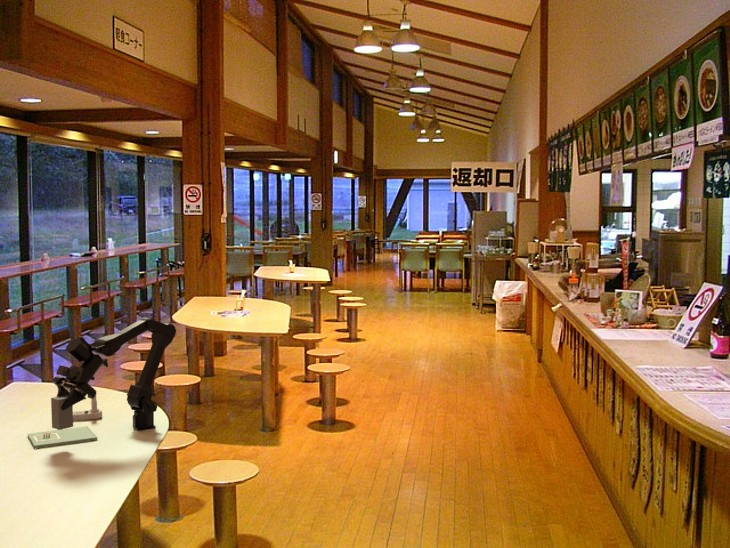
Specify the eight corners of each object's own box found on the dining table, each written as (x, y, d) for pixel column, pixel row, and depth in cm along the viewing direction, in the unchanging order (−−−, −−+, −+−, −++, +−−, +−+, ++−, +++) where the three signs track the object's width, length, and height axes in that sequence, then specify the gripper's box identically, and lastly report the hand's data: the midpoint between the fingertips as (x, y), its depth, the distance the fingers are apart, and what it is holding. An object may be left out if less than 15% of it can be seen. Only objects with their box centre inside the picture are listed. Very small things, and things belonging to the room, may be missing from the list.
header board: (87, 428, 285) (87, 422, 285) (97, 440, 271) (97, 432, 271) (27, 436, 275) (27, 429, 275) (34, 448, 261) (34, 441, 261)
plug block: (65, 424, 265) (65, 395, 265) (73, 426, 263) (72, 397, 262) (52, 427, 261) (51, 397, 261) (59, 430, 259) (58, 399, 258)
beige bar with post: (59, 394, 299) (101, 390, 302) (61, 419, 300) (102, 415, 303) (57, 397, 294) (100, 394, 297) (59, 423, 295) (101, 419, 298)
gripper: (56, 352, 269) (26, 390, 261) (87, 359, 257) (56, 399, 250) (78, 371, 276) (49, 409, 268) (109, 379, 264) (80, 418, 257)
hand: (58, 408), depth 260 cm, fingers closed on plug block, 4 cm apart
